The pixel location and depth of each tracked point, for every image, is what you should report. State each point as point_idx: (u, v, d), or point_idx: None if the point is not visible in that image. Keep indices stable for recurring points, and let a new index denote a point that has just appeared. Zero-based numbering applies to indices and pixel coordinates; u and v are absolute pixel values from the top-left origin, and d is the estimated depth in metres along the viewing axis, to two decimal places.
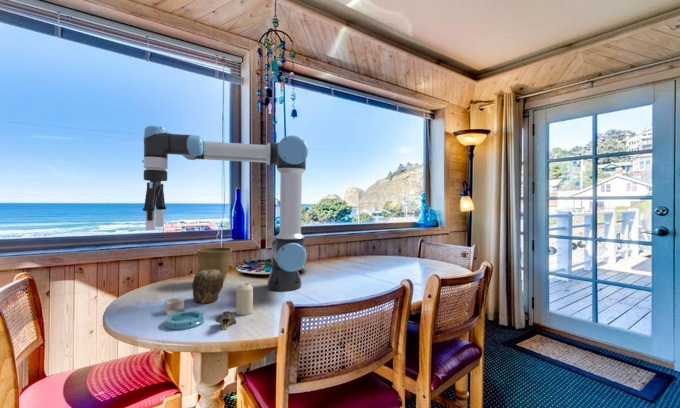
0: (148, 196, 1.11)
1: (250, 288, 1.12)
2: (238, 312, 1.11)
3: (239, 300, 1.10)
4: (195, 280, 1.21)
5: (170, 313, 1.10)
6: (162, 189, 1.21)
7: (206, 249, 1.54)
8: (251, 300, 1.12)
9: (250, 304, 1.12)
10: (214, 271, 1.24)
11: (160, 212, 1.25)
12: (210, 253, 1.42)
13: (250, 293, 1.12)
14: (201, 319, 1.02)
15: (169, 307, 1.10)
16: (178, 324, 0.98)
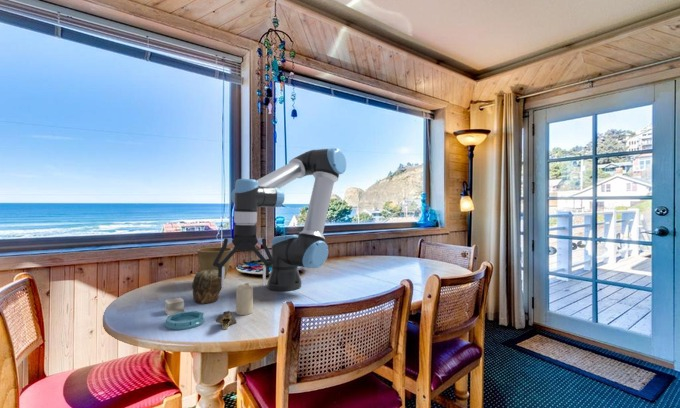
0: None
1: (250, 288, 1.12)
2: (238, 312, 1.11)
3: (239, 300, 1.10)
4: (195, 280, 1.21)
5: (170, 313, 1.10)
6: (249, 245, 1.11)
7: (206, 249, 1.54)
8: (251, 300, 1.12)
9: (250, 304, 1.12)
10: (214, 271, 1.24)
11: (263, 269, 1.14)
12: (210, 253, 1.42)
13: (250, 293, 1.12)
14: (201, 319, 1.02)
15: (169, 307, 1.10)
16: (178, 324, 0.98)
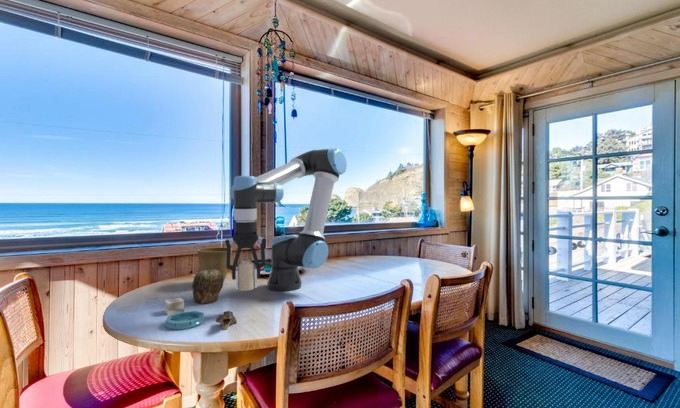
0: None
1: (251, 264, 1.12)
2: (240, 288, 1.11)
3: (241, 276, 1.11)
4: (195, 280, 1.21)
5: (170, 313, 1.10)
6: (249, 242, 1.11)
7: (206, 249, 1.54)
8: (253, 276, 1.13)
9: (252, 280, 1.12)
10: (214, 271, 1.24)
11: (254, 271, 1.14)
12: (210, 253, 1.42)
13: (252, 269, 1.12)
14: (201, 319, 1.02)
15: (169, 307, 1.10)
16: (178, 324, 0.98)
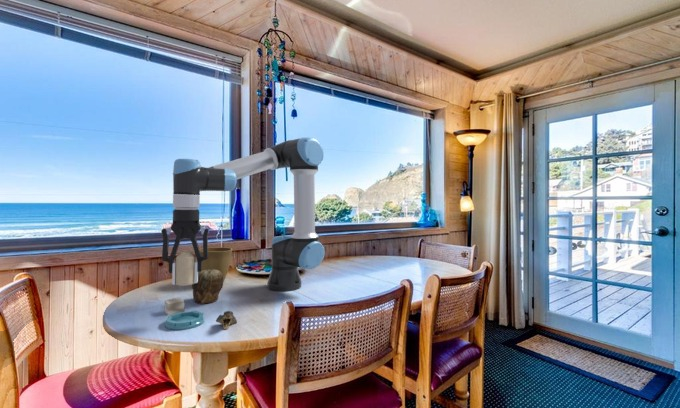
0: None
1: (191, 256, 1.01)
2: (177, 282, 1.00)
3: (178, 269, 1.00)
4: None
5: (170, 313, 1.10)
6: (189, 231, 1.01)
7: None
8: (192, 269, 1.02)
9: (191, 274, 1.01)
10: (214, 271, 1.24)
11: (195, 265, 1.03)
12: (210, 253, 1.42)
13: (191, 262, 1.01)
14: (201, 319, 1.02)
15: (169, 307, 1.10)
16: (178, 324, 0.98)
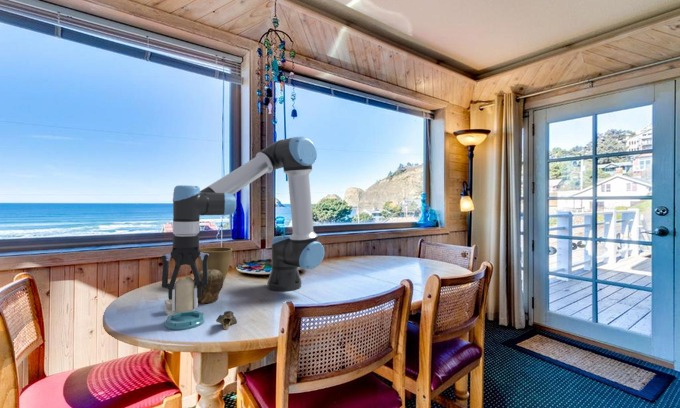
0: None
1: (191, 282, 1.02)
2: (177, 309, 1.00)
3: (178, 295, 1.00)
4: None
5: (170, 313, 1.10)
6: (189, 258, 1.01)
7: (206, 249, 1.54)
8: (192, 296, 1.02)
9: (190, 300, 1.01)
10: (214, 271, 1.24)
11: None
12: (210, 253, 1.42)
13: (191, 288, 1.01)
14: (201, 319, 1.02)
15: (169, 307, 1.10)
16: (178, 324, 0.98)
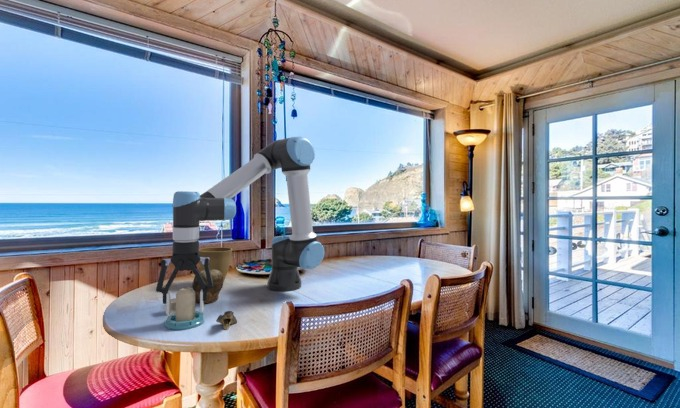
0: None
1: (191, 293, 1.02)
2: (177, 319, 1.01)
3: (178, 306, 1.00)
4: (195, 280, 1.21)
5: (170, 313, 1.10)
6: (189, 264, 1.01)
7: (206, 249, 1.54)
8: (192, 306, 1.02)
9: (191, 310, 1.02)
10: (214, 271, 1.24)
11: (200, 294, 1.04)
12: (210, 253, 1.42)
13: (191, 298, 1.02)
14: (201, 319, 1.02)
15: None
16: (178, 324, 0.98)
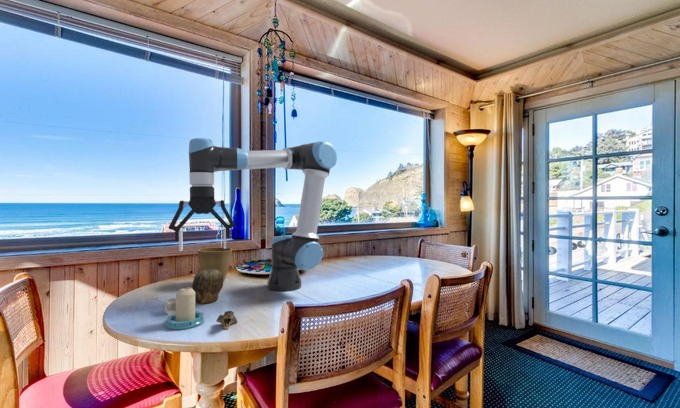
0: None
1: (191, 293, 1.02)
2: (177, 319, 1.01)
3: (178, 306, 1.00)
4: (195, 280, 1.21)
5: (171, 313, 1.10)
6: (207, 207, 1.08)
7: (206, 249, 1.54)
8: (192, 306, 1.02)
9: (191, 310, 1.02)
10: (214, 271, 1.24)
11: (223, 232, 1.11)
12: (210, 253, 1.42)
13: (191, 298, 1.02)
14: (201, 319, 1.02)
15: (170, 307, 1.10)
16: (178, 324, 0.98)
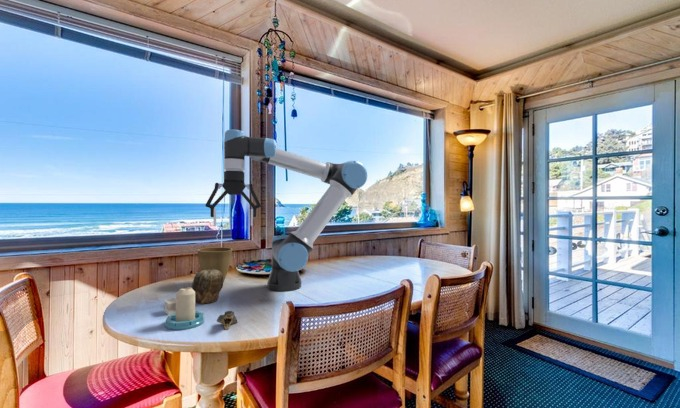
0: None
1: (191, 293, 1.02)
2: (177, 319, 1.01)
3: (178, 306, 1.00)
4: (195, 280, 1.21)
5: (171, 313, 1.10)
6: (238, 189, 1.25)
7: (206, 249, 1.54)
8: (192, 306, 1.02)
9: (191, 310, 1.02)
10: (214, 271, 1.24)
11: (251, 211, 1.28)
12: (210, 253, 1.42)
13: (191, 298, 1.02)
14: (201, 319, 1.02)
15: (170, 307, 1.10)
16: (178, 324, 0.98)
